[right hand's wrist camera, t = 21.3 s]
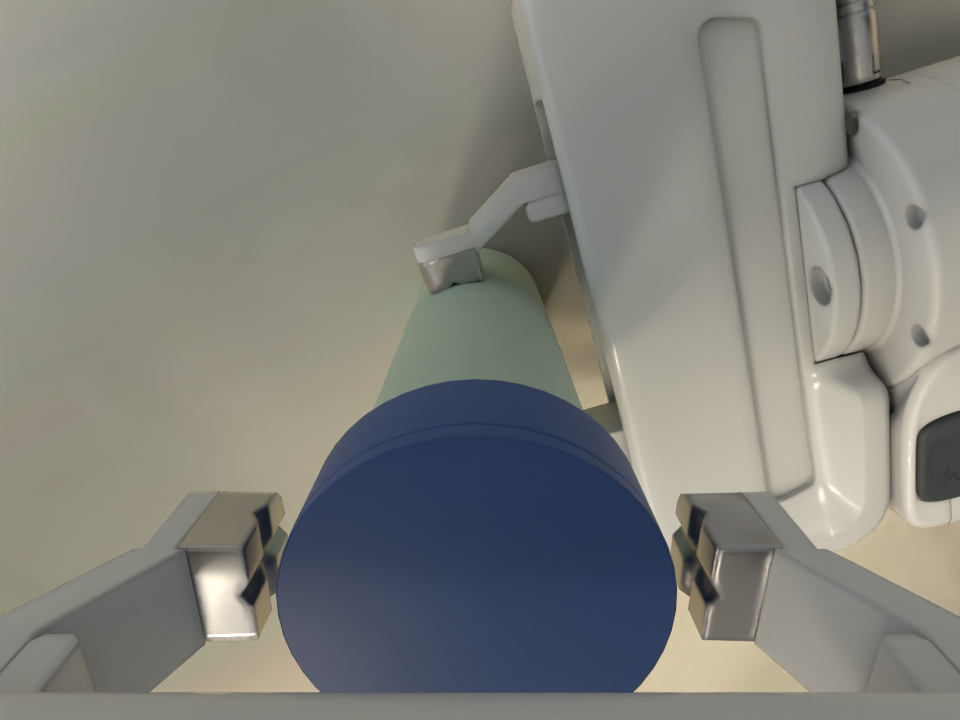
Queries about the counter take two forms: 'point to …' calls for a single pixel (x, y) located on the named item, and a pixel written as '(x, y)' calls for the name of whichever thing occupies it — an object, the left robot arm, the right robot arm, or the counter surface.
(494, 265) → the jar
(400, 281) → the counter surface
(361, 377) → the counter surface
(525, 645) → the lid
